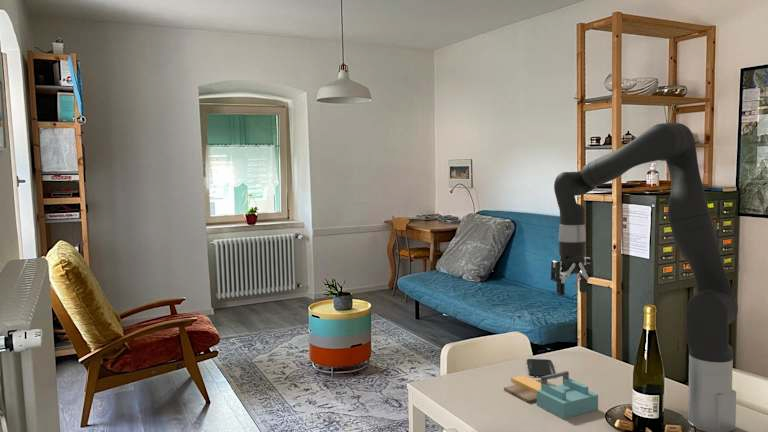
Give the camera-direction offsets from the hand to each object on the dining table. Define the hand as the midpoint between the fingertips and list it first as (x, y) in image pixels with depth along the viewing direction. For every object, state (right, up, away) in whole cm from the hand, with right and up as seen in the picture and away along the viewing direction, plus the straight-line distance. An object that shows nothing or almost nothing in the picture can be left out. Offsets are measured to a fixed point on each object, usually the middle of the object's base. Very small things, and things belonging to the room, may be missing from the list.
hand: (572, 293), depth 175 cm
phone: (-6, -26, +12) cm, 29 cm away
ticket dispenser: (-7, -28, -18) cm, 34 cm away
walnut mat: (-13, -27, -7) cm, 31 cm away
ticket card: (-13, -26, -6) cm, 30 cm away
